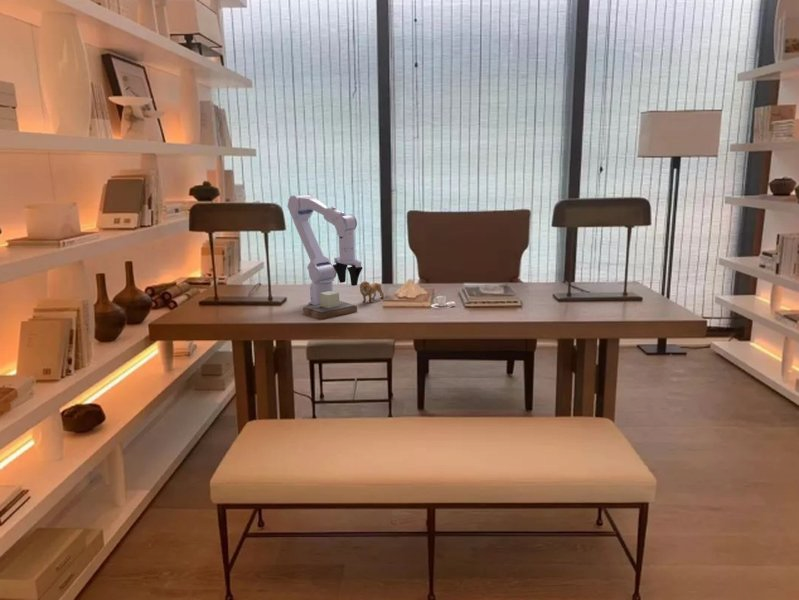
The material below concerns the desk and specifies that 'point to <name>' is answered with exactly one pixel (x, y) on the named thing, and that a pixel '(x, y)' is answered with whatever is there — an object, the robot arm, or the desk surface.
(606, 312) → the desk surface
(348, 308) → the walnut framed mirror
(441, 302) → the teacup and saucer
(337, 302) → the sage block
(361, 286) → the lion figurine
